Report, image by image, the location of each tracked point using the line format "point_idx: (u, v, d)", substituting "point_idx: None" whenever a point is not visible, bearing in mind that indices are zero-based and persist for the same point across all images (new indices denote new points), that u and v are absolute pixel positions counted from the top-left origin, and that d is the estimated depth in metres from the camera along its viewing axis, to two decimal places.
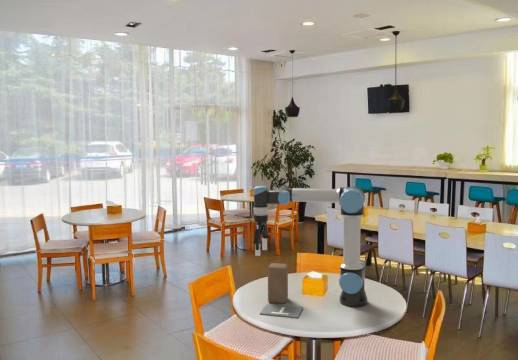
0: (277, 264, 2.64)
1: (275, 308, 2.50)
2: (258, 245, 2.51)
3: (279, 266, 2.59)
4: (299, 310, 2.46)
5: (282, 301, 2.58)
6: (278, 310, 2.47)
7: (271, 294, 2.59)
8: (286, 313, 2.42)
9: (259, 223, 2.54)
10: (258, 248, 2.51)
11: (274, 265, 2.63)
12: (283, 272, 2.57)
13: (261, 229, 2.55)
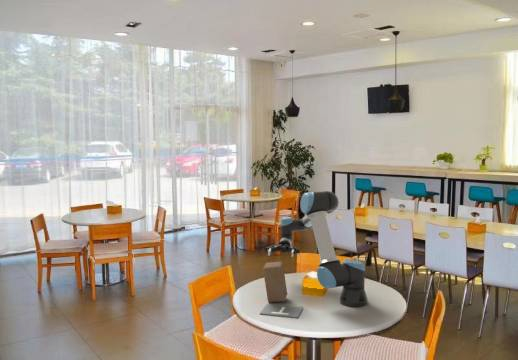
0: (272, 263, 2.63)
1: (275, 308, 2.50)
2: (268, 249, 2.77)
3: (274, 265, 2.59)
4: (299, 310, 2.46)
5: (282, 299, 2.58)
6: (278, 310, 2.47)
7: (270, 294, 2.59)
8: (286, 313, 2.42)
9: None
10: (267, 250, 2.76)
11: (269, 264, 2.62)
12: (279, 271, 2.56)
13: None
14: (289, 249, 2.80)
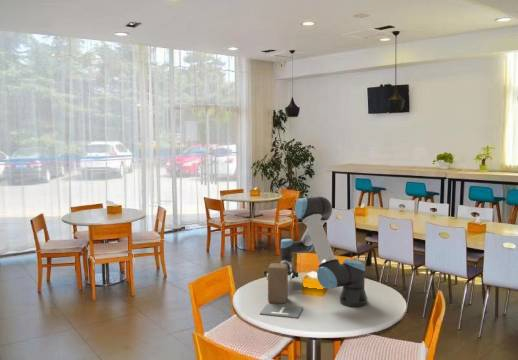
0: (277, 264, 2.64)
1: (275, 308, 2.50)
2: (267, 273, 2.76)
3: (280, 266, 2.59)
4: (299, 310, 2.46)
5: (282, 301, 2.58)
6: (278, 310, 2.47)
7: (271, 295, 2.59)
8: (286, 313, 2.42)
9: None
10: (266, 274, 2.74)
11: (274, 265, 2.63)
12: (283, 272, 2.57)
13: None
14: (288, 272, 2.78)
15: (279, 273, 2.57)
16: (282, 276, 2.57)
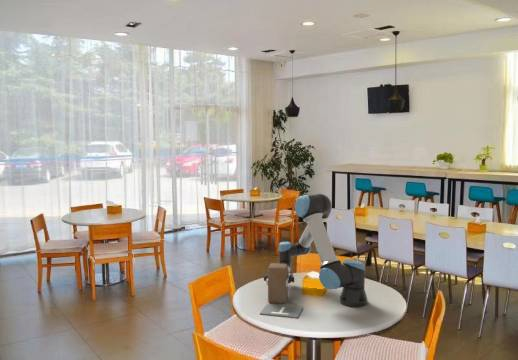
0: (277, 264, 2.64)
1: (275, 308, 2.50)
2: (267, 278, 2.66)
3: (280, 266, 2.59)
4: (299, 310, 2.46)
5: (282, 301, 2.58)
6: (278, 310, 2.47)
7: (271, 294, 2.59)
8: (286, 313, 2.42)
9: None
10: (266, 279, 2.64)
11: (274, 265, 2.63)
12: (283, 272, 2.57)
13: None
14: None
15: (279, 273, 2.57)
16: (282, 276, 2.57)
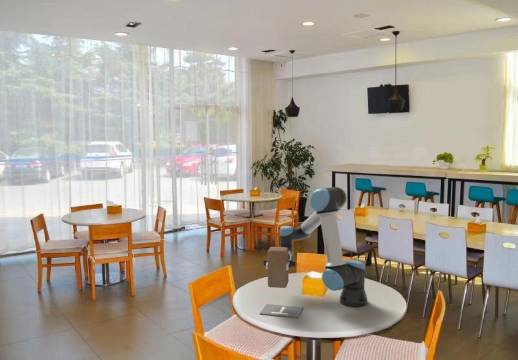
0: (277, 247, 2.53)
1: (275, 308, 2.50)
2: (267, 262, 2.54)
3: (280, 249, 2.48)
4: (299, 310, 2.46)
5: (283, 286, 2.47)
6: (278, 310, 2.47)
7: (271, 279, 2.48)
8: (286, 313, 2.42)
9: None
10: (266, 263, 2.53)
11: (274, 248, 2.51)
12: (283, 255, 2.45)
13: None
14: None
15: (279, 256, 2.46)
16: (282, 259, 2.46)
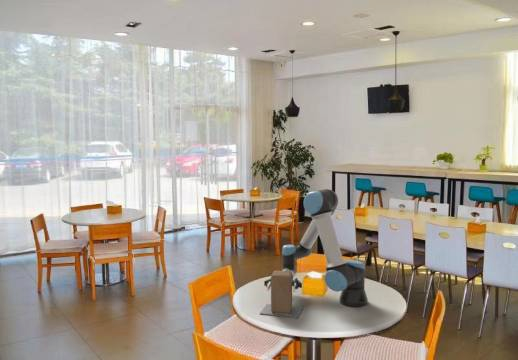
0: (281, 272, 2.47)
1: None
2: (267, 283, 2.50)
3: (283, 274, 2.42)
4: (299, 310, 2.46)
5: (286, 311, 2.41)
6: None
7: (275, 304, 2.42)
8: (286, 313, 2.42)
9: None
10: (267, 284, 2.48)
11: (277, 272, 2.46)
12: (287, 280, 2.40)
13: None
14: None
15: (283, 281, 2.40)
16: (286, 285, 2.40)
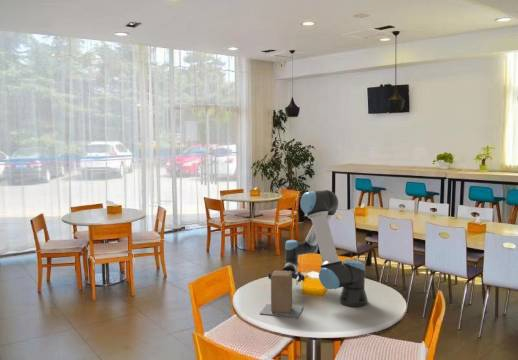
0: (281, 272, 2.47)
1: None
2: None
3: (283, 274, 2.42)
4: (299, 310, 2.46)
5: (286, 311, 2.41)
6: None
7: (275, 304, 2.42)
8: (286, 313, 2.42)
9: None
10: None
11: (277, 272, 2.46)
12: (287, 280, 2.40)
13: None
14: (294, 276, 2.65)
15: (283, 281, 2.40)
16: (286, 285, 2.40)
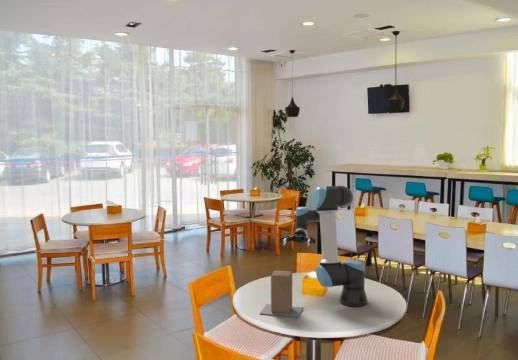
0: (281, 272, 2.47)
1: None
2: (283, 239, 2.70)
3: (283, 274, 2.42)
4: (299, 310, 2.46)
5: (286, 311, 2.41)
6: None
7: (275, 304, 2.42)
8: (286, 313, 2.42)
9: None
10: (283, 239, 2.68)
11: (277, 272, 2.46)
12: (287, 280, 2.40)
13: None
14: (305, 239, 2.72)
15: (283, 281, 2.40)
16: (286, 285, 2.40)
